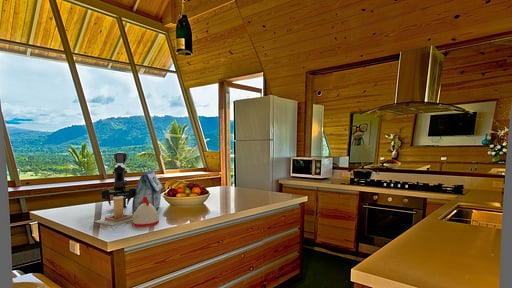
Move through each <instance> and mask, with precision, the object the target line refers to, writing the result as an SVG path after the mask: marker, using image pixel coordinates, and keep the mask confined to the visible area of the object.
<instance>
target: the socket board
mask: <svg viewBox="0 0 512 288" xmlns="http://www.w3.org/2000/svg"><path fill="white" fill-rule="evenodd" d="M131 221H132V222H133V214H130V213H124V217H123V218H119V219H114V214H113V215H110V216H109V215H108V216H105V217H104V218H100V219H98V220H94V223H96V224H100V225H106V226H110V227H115V226H119V225H122V224H124V223H129V222H131Z"/></svg>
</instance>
